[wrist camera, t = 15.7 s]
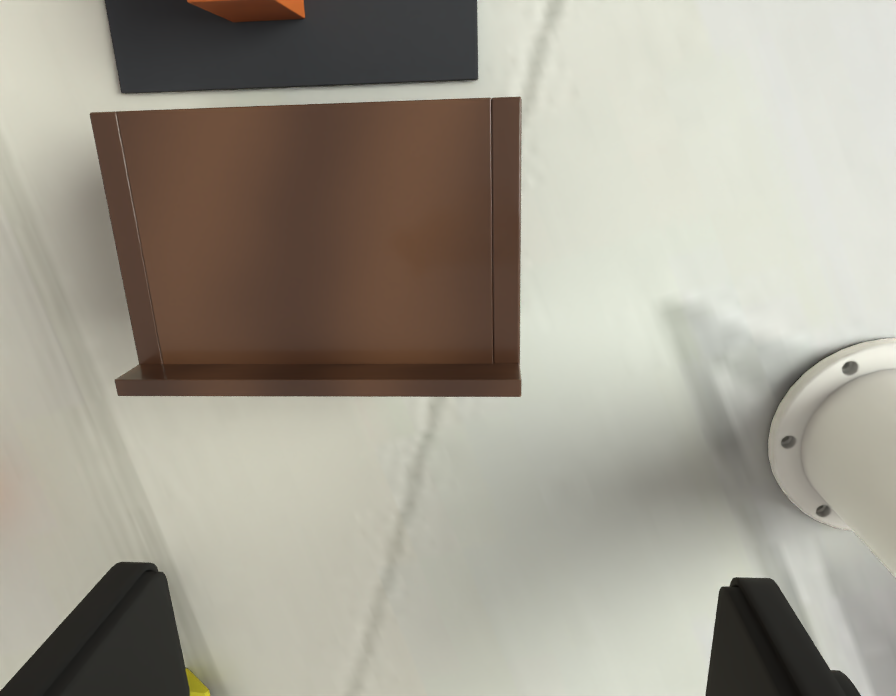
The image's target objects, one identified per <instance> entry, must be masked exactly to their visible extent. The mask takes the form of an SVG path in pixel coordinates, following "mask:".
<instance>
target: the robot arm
mask: <svg viewBox="0 0 896 696" xmlns="http://www.w3.org/2000/svg"><path fill="white" fill-rule="evenodd" d="M844 364H845V365H844ZM768 457H769V461H770V465H771V469H772V473H773V475H774V477H775V479H776V480H777V482H778V484H779V486H780V488H781V489H782V490H783V491H784V493H785V494H786V495H787V497H788V498H789V499H790V501H791V502H793V503H794V504H795V505H796V506H797V507H798V508H799V509H800V510H801V511H802V512H803V513H805V514H806V515H808V516H810V517H811V518H813V519H814V520H816V521H818V522H821V523H824V524H826V525H829V526H832V527H834V528H839V529H844V530H850V531H853V532H854V533H855V534H856V535H857V536H858V537H859V538H860V540H861V541H862V542H863V543H864V544H865V545H866V546H867V547H868V548H869V550H870V551H871V552H872V553H873V554H874V555H875V556H876V557H877V558H878V560H879V561H880V562H881V563H882V564H883V565H884V566H885V567H886V568H887V569H888V571H889V572H890V573H891V574H892V575H893V576H894V577H895V578H896V338H884V339H879V340H873V341H867V342H862V343H859V344H856V345H853V346H851V347H848V348H845V349H842V350H840V351H838V352H836V353H834V354H832V355H830V356H829V357H827V358H825V359H823V360H821V361H820V362H819V363H817V364H816V365H815V366H813V367H812V368H811V369H809V370H808V371H807V372H805V373H804V374H803V375H802V376H801V377H800V378H799V379H798V380H797V382H796V383H795V384H794V385H793V386H792V387H791V388H790V389H789V391H788V392H787V394H786V395H785V397H784V398H783V400H782V401H781V403H780V404H779V406H778V408H777V411H776V413H775V415H774V418H773V420H772V423H771V428H770V433H769V438H768ZM0 696H190V689H189V684H188V679H187V674H186V669H185V665H184V660H183V655H182V650H181V645H180V640H179V636H178V631H177V626H176V621H175V616H174V612H173V607H172V602H171V597H170V592H169V588H168V583H167V578H166V576H165V574H164V573H163V572H158V569H157V567H156V566H155V564H153V563H141V562H120V563H116V564H115V565H114V566H113V567H112V568H111V569H110V570H109V571H108V572H107V573H106V574H105V576H104V577H103V578H102V579H101V580H100V581H99V582H98V583H97V584H96V586H95V587H94V588H93V589H92V590H91V591H90V592H89V593H88V594H87V596H86V597H85V598H84V599H83V600H82V601H81V602H80V603H79V604H78V606H77V607H76V608H75V609H74V610H73V611H72V612H71V613H70V614H69V616H68V617H67V618H66V619H65V620H64V621H63V622H62V623H61V624H60V625H59V627H58V628H57V629H56V630H55V631H54V632H53V633H52V634H51V635H50V637H49V638H48V639H47V640H46V641H45V642H44V643H43V644H42V645H41V647H40V648H39V649H38V650H37V651H36V652H35V653H34V654H33V655H32V657H31V658H30V659H29V660H28V661H27V662H26V663H25V664H24V665H23V667H22V668H21V669H20V670H19V671H18V672H17V673H16V674H15V675H14V677H13V678H12V679H11V680H10V681H9V682H8V683H7V684H6V685H5V687H4V688H3V689H2V690H1V691H0ZM706 696H861V695H860V693H859V692H858V690H857V689H856V687H855V686H854V684H853V683H852V682H851V681H850V679H849V678H848V677H847V676H846V675H845V674H843V673H842V672H840V671H836V670H830V669H829V667H828V665H827V664H826V662H825V660H824V659H823V657H822V656H821V654H820V652H819V651H818V649H817V648H816V646H815V644H814V643H813V641H812V640H811V638H810V636H809V635H808V633H807V632H806V630H805V628H804V627H803V625H802V624H801V622H800V620H799V619H798V617H797V616H796V614H795V612H794V611H793V609H792V608H791V606H790V604H789V603H788V601H787V600H786V598H785V596H784V595H783V593H782V592H781V590H780V588H779V587H778V585H777V584H776V583H775V581H774V580H772V579H770V578H737V577H736V578H733V579H732V581H731V583H730V587H721V589H720V591H719V596H718V604H717V612H716V619H715V627H714V635H713V642H712V650H711V658H710V665H709V673H708V681H707V688H706Z"/></svg>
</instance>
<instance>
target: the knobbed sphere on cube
mask: <svg viewBox="0 0 896 696" xmlns="http://www.w3.org/2000/svg"><path fill="white" fill-rule="evenodd" d="M187 2H188V3H190V4H193V5H195V6H197V7H199V8H202V9H204V10H206V11H209V12H211V13H213V14H215V15H218V16H220V17H222V18H225V19H227V20H229V21H232V22H249V21H270V20H291V19H305V11H304V0H187Z"/></svg>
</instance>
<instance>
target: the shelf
mask: <svg viewBox="0 0 896 696" xmlns="http://www.w3.org/2000/svg"><path fill="white" fill-rule="evenodd" d="M521 104H522V99H521V97H498V98H492V99H491V98H469V99H442V100H415V101H388V102H361V103H334V104H307V105H280V106H253V107H226V108H199V109H172V110H145V111H118V112H92V113H90V118H91V123H92V128H93V133H94V138H95V143H96V149H97V154H98V159H99V164H100V169H101V174H102V179H103V184H104V189H105V194H106V199H107V204H108V209H109V214H110V219H111V224H112V229H113V234H114V239H115V244H116V249H117V254H118V259H119V264H120V269H121V274H122V279H123V284H124V289H125V294H126V299H127V304H128V310H129V315H130V320H131V325H132V330H133V335H134V340H135V345H136V350H137V355H138V360H139V365H137V366H136V367H134V368H133V369H131V370H130V371H128V372H126V373H125V374H123V375H122V376H120V377H118V378H117V379H115V384H116V389H117V393H118V396H420V397H521V372H520V252H521Z"/></svg>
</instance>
